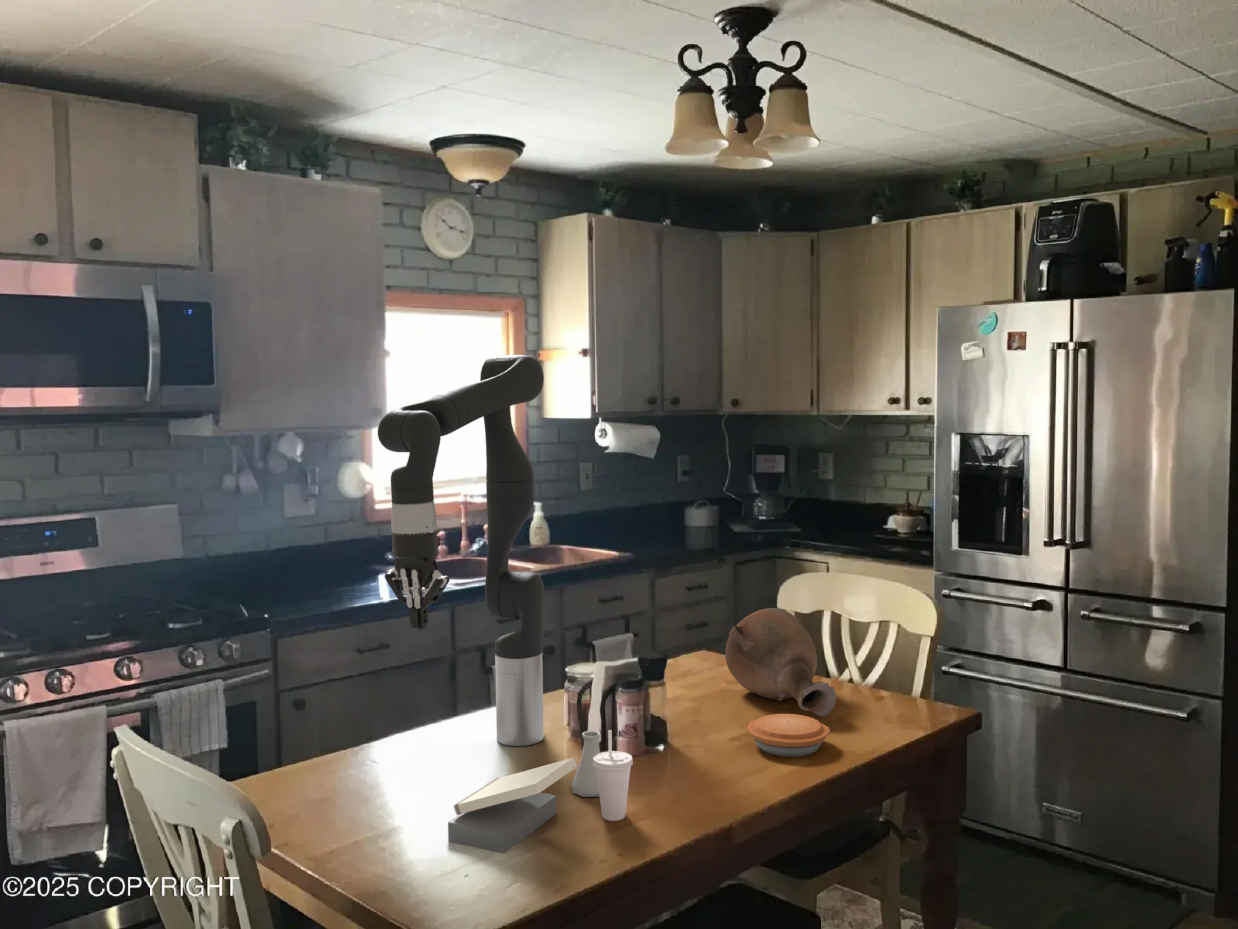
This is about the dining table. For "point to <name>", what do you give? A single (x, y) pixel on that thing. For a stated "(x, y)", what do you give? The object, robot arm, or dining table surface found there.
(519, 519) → the robot arm
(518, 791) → the panel
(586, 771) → the flask
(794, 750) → the pie
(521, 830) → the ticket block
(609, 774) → the smoothie
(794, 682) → the jug
